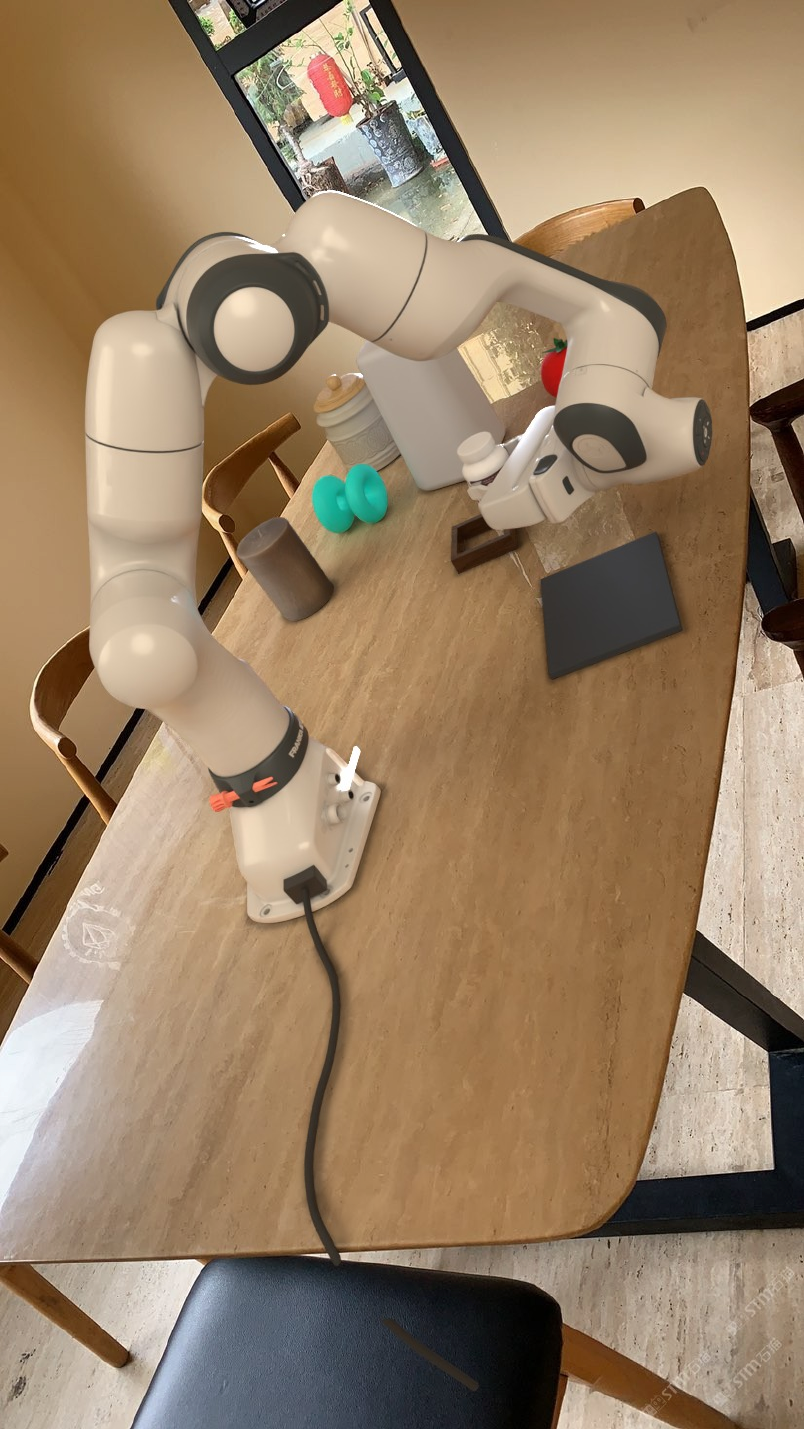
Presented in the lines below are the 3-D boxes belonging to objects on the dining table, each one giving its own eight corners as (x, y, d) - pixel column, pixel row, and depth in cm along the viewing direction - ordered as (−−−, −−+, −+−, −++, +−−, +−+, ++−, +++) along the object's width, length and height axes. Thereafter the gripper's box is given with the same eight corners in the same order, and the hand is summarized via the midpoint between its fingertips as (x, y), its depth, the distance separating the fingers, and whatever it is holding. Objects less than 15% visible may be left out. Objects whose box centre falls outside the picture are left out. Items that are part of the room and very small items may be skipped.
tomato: (542, 408, 175) (518, 356, 170) (590, 371, 176) (567, 318, 171) (576, 418, 167) (551, 364, 161) (626, 379, 168) (602, 324, 162)
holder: (517, 548, 148) (510, 535, 146) (458, 574, 151) (450, 560, 150) (515, 514, 155) (508, 501, 153) (459, 539, 158) (451, 526, 157)
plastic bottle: (414, 499, 175) (327, 355, 160) (437, 449, 185) (357, 308, 169) (492, 475, 167) (409, 321, 152) (513, 424, 177) (436, 273, 161)
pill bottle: (543, 501, 132) (506, 430, 126) (509, 532, 131) (469, 462, 125) (515, 494, 137) (478, 425, 131) (482, 524, 136) (442, 455, 130)
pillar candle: (341, 575, 169) (291, 502, 161) (324, 614, 163) (271, 540, 155) (294, 590, 174) (243, 520, 166) (275, 628, 168) (221, 557, 160)
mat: (683, 630, 117) (680, 624, 117) (551, 679, 123) (548, 674, 122) (658, 536, 132) (656, 530, 132) (543, 584, 138) (540, 579, 138)
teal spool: (380, 532, 173) (349, 485, 168) (332, 546, 179) (301, 500, 173) (397, 497, 179) (368, 450, 174) (350, 511, 185) (321, 466, 179)
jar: (418, 444, 191) (370, 361, 181) (360, 486, 191) (309, 404, 181) (395, 428, 201) (349, 349, 192) (341, 467, 201) (291, 390, 192)
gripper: (599, 381, 125) (506, 403, 134) (533, 488, 115) (437, 504, 124) (619, 425, 129) (526, 443, 138) (556, 532, 118) (461, 544, 128)
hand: (483, 473), depth 131 cm, fingers closed on pill bottle, 6 cm apart
